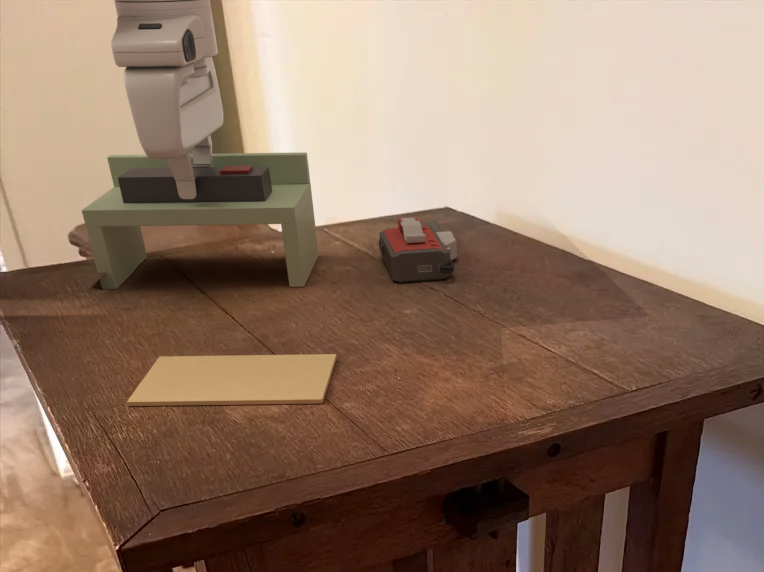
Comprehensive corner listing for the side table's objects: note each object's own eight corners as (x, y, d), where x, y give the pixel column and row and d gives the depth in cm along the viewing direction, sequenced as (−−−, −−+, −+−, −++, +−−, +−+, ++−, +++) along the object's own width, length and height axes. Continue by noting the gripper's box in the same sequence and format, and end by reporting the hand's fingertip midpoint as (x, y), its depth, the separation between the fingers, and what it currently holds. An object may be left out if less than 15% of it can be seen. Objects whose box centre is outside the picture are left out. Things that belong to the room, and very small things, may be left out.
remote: (123, 203, 96) (116, 174, 95) (135, 193, 100) (129, 165, 98) (265, 201, 96) (260, 172, 95) (272, 191, 100) (268, 163, 98)
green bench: (102, 289, 99) (73, 178, 92) (134, 257, 109) (110, 154, 102) (304, 286, 99) (290, 175, 92) (318, 255, 109) (307, 152, 102)
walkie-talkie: (472, 281, 100) (441, 234, 115) (471, 238, 97) (439, 196, 113) (392, 287, 99) (372, 238, 114) (389, 244, 96) (369, 200, 111)
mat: (127, 406, 75) (126, 401, 74) (160, 360, 83) (159, 356, 82) (322, 403, 75) (322, 399, 74) (337, 358, 83) (336, 353, 82)
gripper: (165, 26, 97) (191, 169, 106) (104, 46, 81) (141, 213, 90) (224, 25, 97) (245, 169, 106) (175, 45, 81) (205, 212, 90)
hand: (197, 190), depth 98 cm, fingers open, 5 cm apart
